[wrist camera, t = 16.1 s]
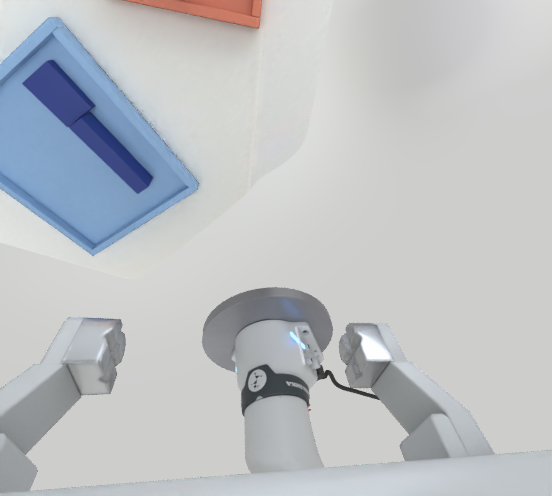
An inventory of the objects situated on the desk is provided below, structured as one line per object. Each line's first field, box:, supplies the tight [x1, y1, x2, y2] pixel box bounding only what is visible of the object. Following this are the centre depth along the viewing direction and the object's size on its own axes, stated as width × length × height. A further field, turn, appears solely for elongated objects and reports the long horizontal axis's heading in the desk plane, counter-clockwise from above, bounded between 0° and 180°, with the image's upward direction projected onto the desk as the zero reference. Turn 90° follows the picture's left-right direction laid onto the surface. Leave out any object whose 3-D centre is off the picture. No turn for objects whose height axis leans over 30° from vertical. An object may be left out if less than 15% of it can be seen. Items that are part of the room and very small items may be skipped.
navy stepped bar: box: [22, 60, 153, 194], centre depth 31 cm, size 14×4×3 cm, turn 31°
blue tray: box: [0, 18, 199, 256], centre depth 34 cm, size 20×19×2 cm
